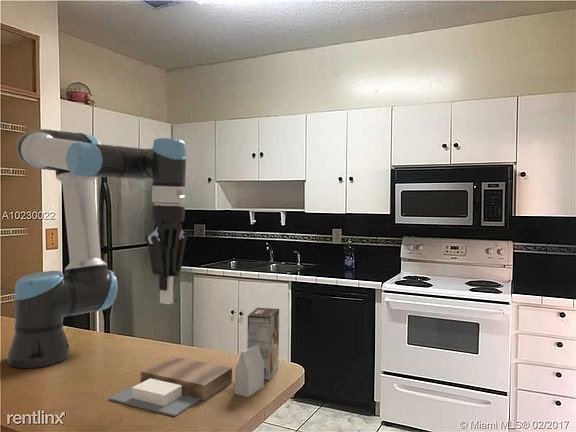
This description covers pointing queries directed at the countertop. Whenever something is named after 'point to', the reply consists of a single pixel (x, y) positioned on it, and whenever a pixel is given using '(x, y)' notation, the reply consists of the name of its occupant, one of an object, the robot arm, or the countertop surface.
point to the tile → (157, 392)
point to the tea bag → (249, 372)
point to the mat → (169, 409)
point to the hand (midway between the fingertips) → (166, 303)
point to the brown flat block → (190, 376)
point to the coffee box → (265, 337)
